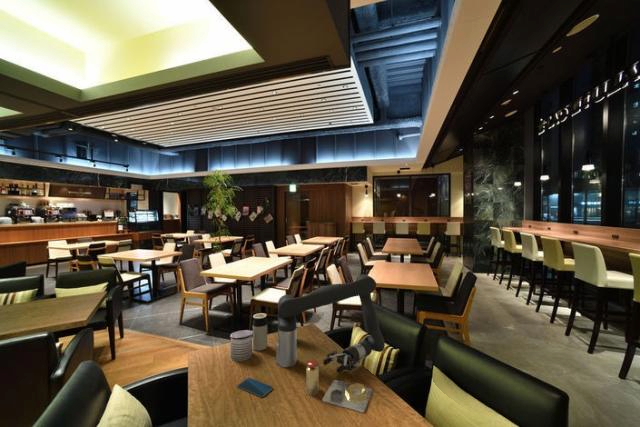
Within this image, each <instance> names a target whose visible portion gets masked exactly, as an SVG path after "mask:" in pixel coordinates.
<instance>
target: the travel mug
mask: <svg viewBox="0 0 640 427" xmlns="http://www.w3.org/2000/svg"><path fill="white" fill-rule="evenodd" d="M252 318H253V321H252V331H253V332H252V350H255V351H257V352H258V351H260V352H261V351H264V350H265V349H267V348H268V319H267V313H262V312H261V313H260V312H259V313H256V314H253V316H252Z"/></svg>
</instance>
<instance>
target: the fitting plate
mask: <svg viewBox="0 0 640 427" xmlns="http://www.w3.org/2000/svg"><path fill="white" fill-rule="evenodd" d="M372 392H373V389H372V388H370V387H366V386H365V385H364V384H363V383H359V382H351V383H349V382H345V381H340V380H337V379H334V380H333V381H331V384H330V385H329V387H328V389H327V391H326V392H325V394H324V395H323V397H322V400H321V401H322V403H327V404H331V405H335V406H337V407H342V408H345V409H349V410H353V411H356V412H360V413H363V414H364V413H365V412H366V409H367V406H368V403H369V401H370V398H371V395H372Z"/></svg>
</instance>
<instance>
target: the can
mask: <svg viewBox="0 0 640 427" xmlns="http://www.w3.org/2000/svg"><path fill="white" fill-rule="evenodd" d="M229 336H230V337H229V338H230V359H231V360H232V361H234V362H242V361H246V360H249V359H250V358H251V357H252V356H253V330H249V329H246V330H245V329H244V330H237V331H234V332H231V333H230V335H229Z"/></svg>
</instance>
